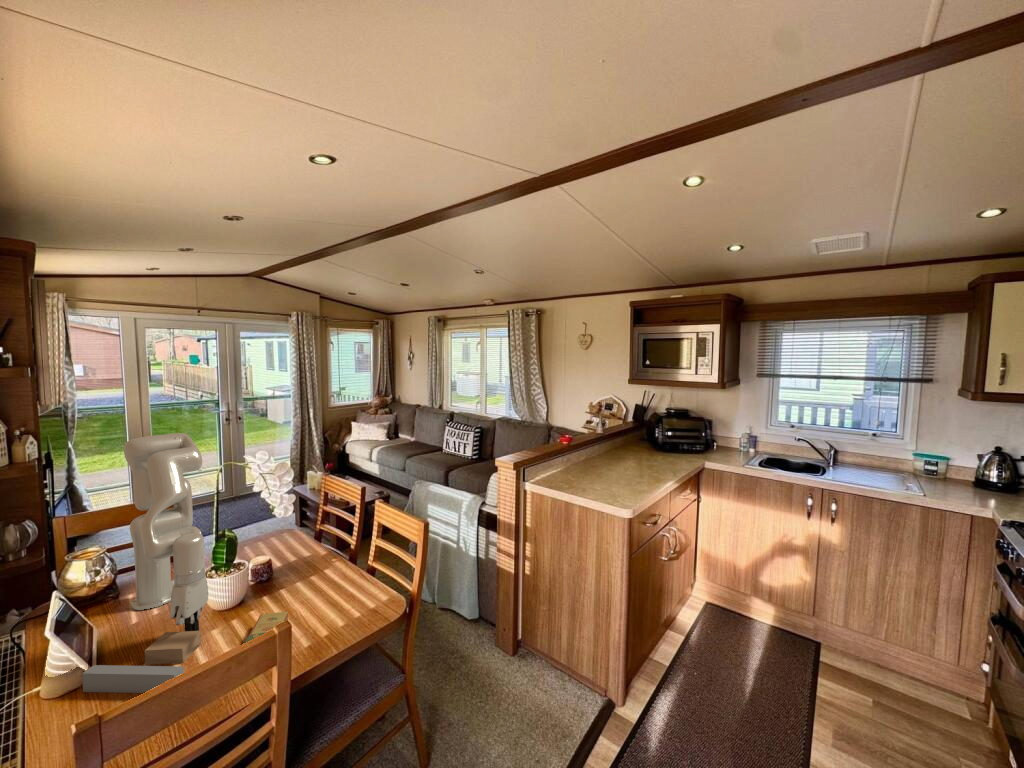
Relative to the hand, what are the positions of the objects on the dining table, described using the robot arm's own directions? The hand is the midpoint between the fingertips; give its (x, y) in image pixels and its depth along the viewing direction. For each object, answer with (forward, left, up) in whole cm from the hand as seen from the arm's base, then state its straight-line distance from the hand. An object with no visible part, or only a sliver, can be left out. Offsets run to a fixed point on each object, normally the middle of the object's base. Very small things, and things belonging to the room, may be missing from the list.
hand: (192, 633), depth 131 cm
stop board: (+20, 0, -2) cm, 20 cm away
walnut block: (+7, 0, -2) cm, 7 cm away
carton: (0, +23, -2) cm, 23 cm away
